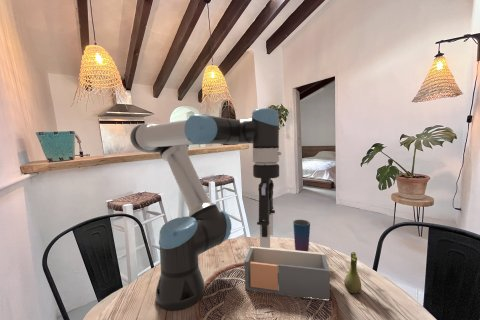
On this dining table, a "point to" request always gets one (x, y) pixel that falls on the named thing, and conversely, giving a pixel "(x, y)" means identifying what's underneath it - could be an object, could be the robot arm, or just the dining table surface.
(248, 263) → the storage box
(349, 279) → the fennel bulb
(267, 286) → the box door
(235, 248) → the dining table surface
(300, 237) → the cup
